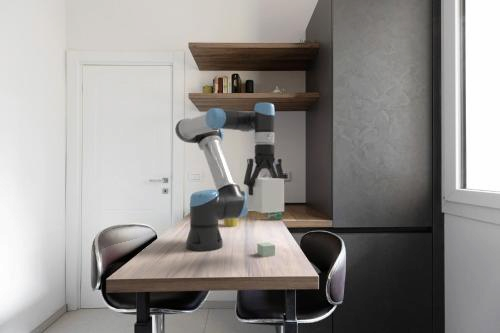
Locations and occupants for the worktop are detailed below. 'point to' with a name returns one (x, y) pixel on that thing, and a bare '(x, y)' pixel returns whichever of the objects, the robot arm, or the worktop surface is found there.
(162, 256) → the worktop surface
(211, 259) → the worktop surface
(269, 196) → the white upright box
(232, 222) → the plant pot
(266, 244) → the block
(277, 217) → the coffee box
